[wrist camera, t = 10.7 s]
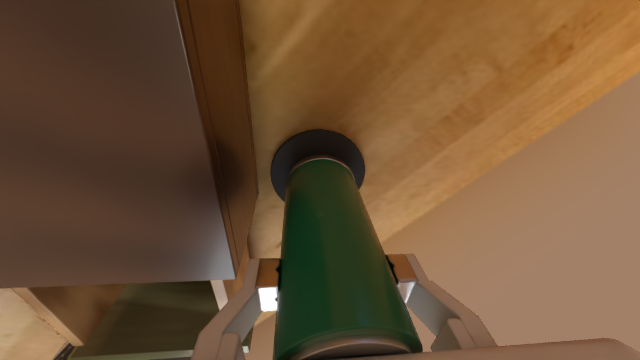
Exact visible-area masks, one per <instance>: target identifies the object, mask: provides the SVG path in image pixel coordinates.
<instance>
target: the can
mask: <svg viewBox="0 0 640 360" xmlns="http://www.w3.org/2000/svg"><path fill="white" fill-rule="evenodd" d="M285 192H286V193H285V206H284V219H283V232H282V245H281V258H280V259H281V262H280V273H279V289H278V297H277V310H276V323H275V336H274V349H273V360H328V359H341V358H354V357H367V356H380V355H393V354H406V353H419V352H423V349H422V344H421V342H420V339H419V337H418V334H417V332H416V329H415V327H414V325H413V322H412V320H411V317H410V315H409V312H408V310H407V307H406V305H405V303H404V300H403V298H402V295H401V293H400V290H399V288H398V285H397V283H396V281H395V278H394V276H393V273H392V271H391V268H390V266H389V263H388V261H387V258H386V256H385V254H384V251H383V249H382V246H381V244H380V241H379V239H378V236H377V234H376V232H375V229H374V227H373V224H372V222H371V219H370V217H369V214H368V212H367V210H366V207H365V205H364V202H363V200H362V197H361V195H360V192H359V190H358V188H357V185H356V183H355V179H354V176H353V174H352V171H351V170H350V168H349V167H348V165H347V164H346V163H345V162H343V161H342V160H340V159H338V158H336V157H333V156H330V155H313V156H309V157H307V158H304V159H302V160H301V161H299V162H298V163H296V164H295V165H294V166H293V167H292V169H291V170H290V172H289V173H288V176H287V178H286V185H285Z"/></svg>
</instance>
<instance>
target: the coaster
mask: <svg viewBox="0 0 640 360" xmlns="http://www.w3.org/2000/svg"><path fill="white" fill-rule="evenodd" d="M313 155H330V156H333V157H336V158H338V159H340V160H342V161H343V162H345V163H346V164H347V165H348V167H349V168H350V170H351V171H352V174H353V176H354V179H355V183H356V185H357V188H358V190H359V189H360V187H361V185H362V182H363V179H364V174H365V165H364V160H363V157H362V155H361V153H360V151H359V149H358V148H357V147H356V145H355V144H354V143H353V142H352V141H351V140H350V139H348V138H347V137H346V136H344V135H342V134H340V133H337V132H334V131H330V130H323V129H316V130H308V131H305V132H301V133H299V134H297V135H295V136H293V137H291V138H290V139H288V140H287V141H286V142H285V143H284V144H283V145H282V146H281V147H280V148H279V149H278V151H277V152H276V154H275V156H274V159H273V162H272V166H271V181H272V184H273V187H274V189H275V191H276V193H277V194H278V196H279V197H280V198H281V199H282V200H283V201H284V202H285V193H286V192H285V185H286V178H287V176H288V173H289V172H290V170H291V169H292V167H293V166H294V165H295V164H296V163H298V162H299V161H301V160H302V159H304V158H307V157H309V156H313Z"/></svg>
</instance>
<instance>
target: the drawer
mask: <svg viewBox="0 0 640 360" xmlns="http://www.w3.org/2000/svg"><path fill="white" fill-rule="evenodd" d="M249 260H250V259H249V253H248V247H247V240H246V244H245V248H244V252H243V256H242V260H241V264H240V267H239V271H238V275H237V278H236V279H234V280H208V281H182V282H156V283H130V284H104V285H78V286H52V287H26V288H11V289H13V290H14V291H15V292H16V293H17V294H18V295H19V296H20V297H21V298H22V299H23V300H24V301H25V302H26V303H28V304H29V305H30V306H31V307H32V308H33V309H34V310H35V311H36V312H37V313H38V314H39V315H40V316H41V317H43V318H44V319H45V320H46V321H47V322H48V323H49V324H50V325H51V326H52V327H53V328H54V329H55V330H56V331H58V332H59V333H60V334H61V335H62V336H63V337H64V338H65V339H66V340H67V341H68V342H69V343H70V344H71V345H73V346H78V347H77V349H76V350H75V351H74V353H73V354H72V356H71V357H70V359H71V360H190V359H191V356H192V354H193V351H194V348H195V345H196V342H197V339H198V336H199V333H200V332H201V331H202V330H203V329H204V328H205V326H206V325H207V324H208V323H209V322H210V321H211V320H212V319H213V318H214V317H215V316H216V314H217V313H218V312H219V311H220V310H221V309H222V308H223V307H224V306H225V305H226V303H227V302H228V301H229V300H230V299H231V298H232V297H233V296H234V295H235V294H236V292H237V291H238V290H239V289H243V284H244V280H245V275H246V271H247V266H248V262H249ZM253 326H254V325H253ZM253 326H252V328H251V329H250V331H249V333H248V334H247V336H246V337H245V339H244V340H243V342H242V347H243V351H244V353H249V352H250V346H251V339H252V333H253Z"/></svg>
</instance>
